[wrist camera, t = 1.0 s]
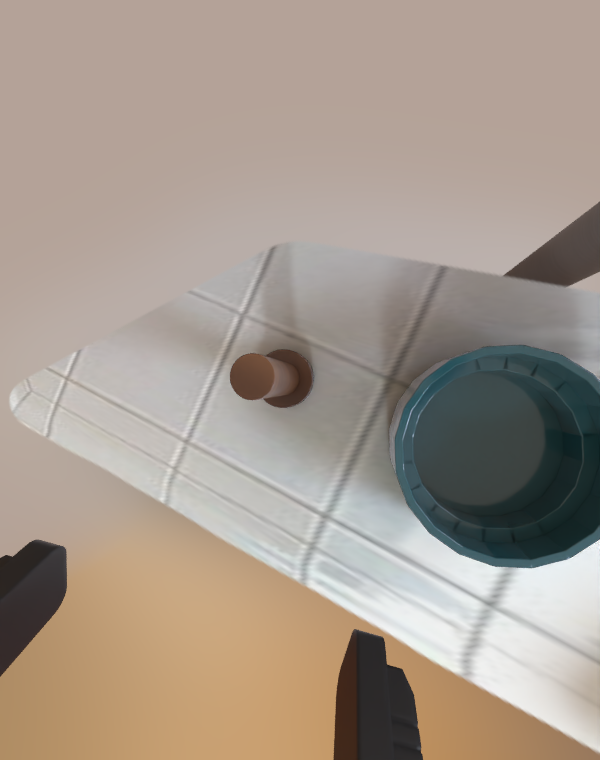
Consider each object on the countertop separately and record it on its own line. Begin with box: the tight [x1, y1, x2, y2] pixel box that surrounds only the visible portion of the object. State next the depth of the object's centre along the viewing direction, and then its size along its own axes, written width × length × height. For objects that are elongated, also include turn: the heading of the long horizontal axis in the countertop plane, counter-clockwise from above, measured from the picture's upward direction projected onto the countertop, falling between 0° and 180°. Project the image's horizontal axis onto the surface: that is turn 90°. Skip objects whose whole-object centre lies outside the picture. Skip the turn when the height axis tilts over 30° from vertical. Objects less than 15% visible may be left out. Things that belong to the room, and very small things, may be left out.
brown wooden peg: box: [230, 350, 314, 408], centre depth 29 cm, size 5×5×11 cm
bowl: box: [389, 345, 600, 568], centre depth 28 cm, size 15×15×6 cm
